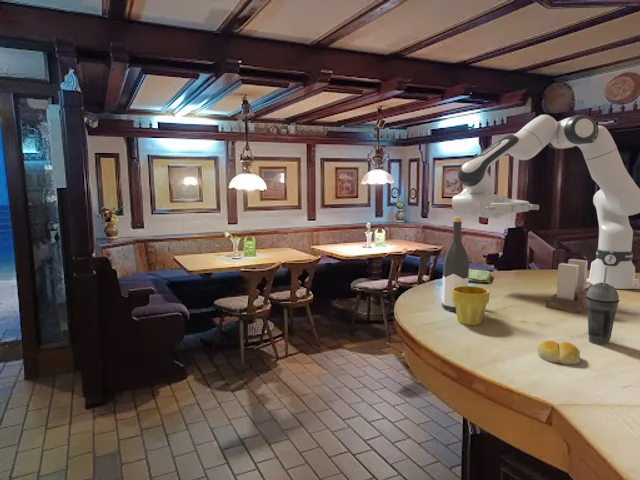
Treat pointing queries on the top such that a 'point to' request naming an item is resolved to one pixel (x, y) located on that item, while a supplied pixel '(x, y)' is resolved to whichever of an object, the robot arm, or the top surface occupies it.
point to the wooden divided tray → (569, 302)
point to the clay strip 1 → (567, 281)
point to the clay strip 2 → (580, 273)
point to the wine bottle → (454, 267)
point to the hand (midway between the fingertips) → (533, 208)
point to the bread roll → (559, 352)
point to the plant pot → (470, 303)
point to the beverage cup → (601, 311)
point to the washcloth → (479, 276)
